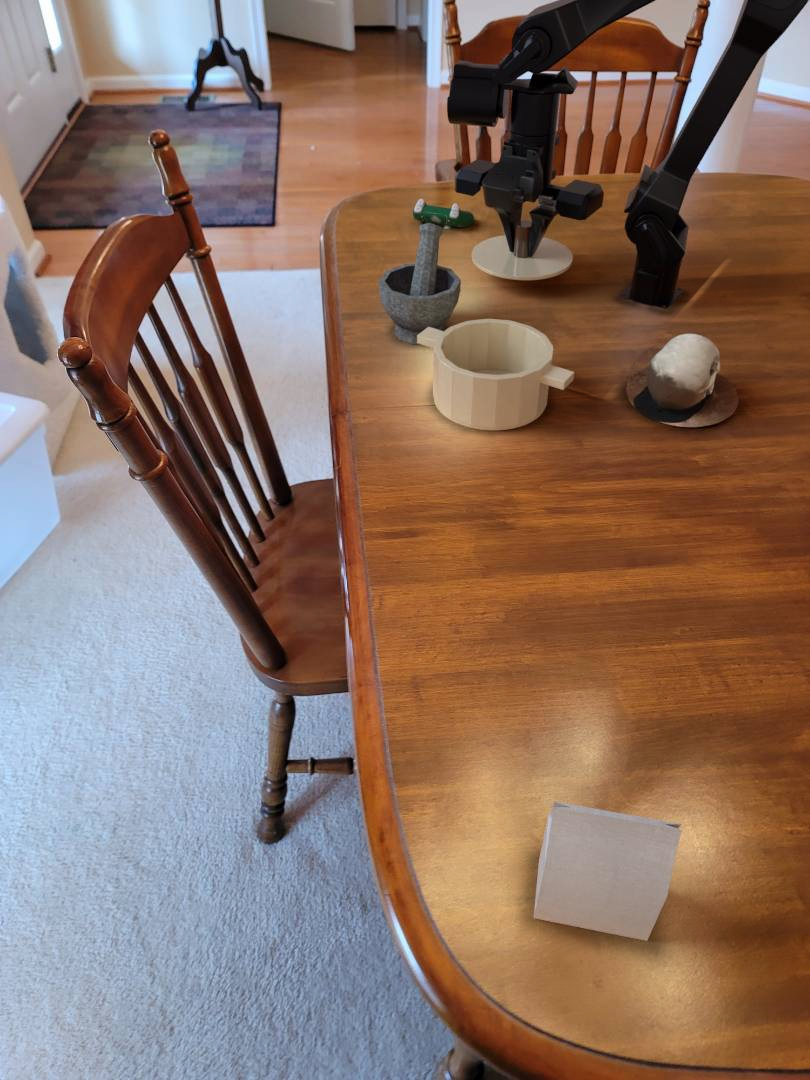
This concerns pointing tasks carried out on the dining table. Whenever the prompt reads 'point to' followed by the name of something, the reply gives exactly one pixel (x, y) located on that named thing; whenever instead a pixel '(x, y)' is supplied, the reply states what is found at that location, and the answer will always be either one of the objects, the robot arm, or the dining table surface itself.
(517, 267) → the lid
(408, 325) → the mortar and pestle
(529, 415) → the pot
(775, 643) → the dining table surface
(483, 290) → the dining table surface
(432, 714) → the dining table surface
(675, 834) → the white rectangular box
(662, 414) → the skull
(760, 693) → the dining table surface
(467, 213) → the green toy car
